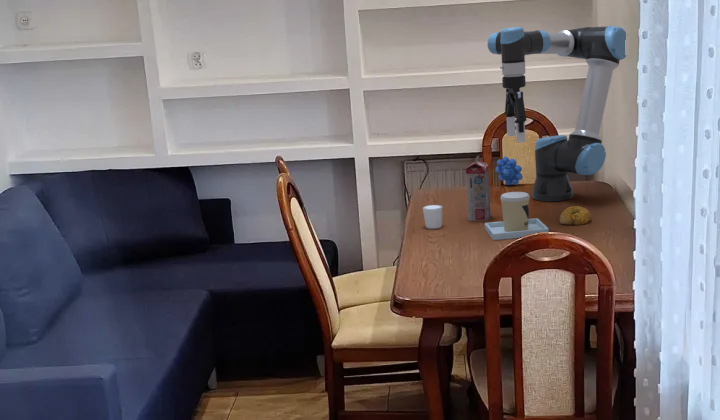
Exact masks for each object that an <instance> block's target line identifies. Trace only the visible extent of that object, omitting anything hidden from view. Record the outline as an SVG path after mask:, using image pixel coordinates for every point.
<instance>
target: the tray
mask: <svg viewBox="0 0 720 420" xmlns="http://www.w3.org/2000/svg"><path fill="white" fill-rule="evenodd" d="M484 230H485V231H486V233H487V234H488V235H489V236H490V238H491V239H492V240H493V241H500V240H502V241H503V240H510V239H511V240H512V239H520V237H523V236H525V235H528V234H533V233H538V232H549V233H550V229H549V227H547V225H546V224H544V223H543V222H542V221H541V220H540V219H539V218H529V221H528V230H523V231H513V232H505V230H504V223H503V221H493V222H484ZM523 238H524V237H523Z"/></svg>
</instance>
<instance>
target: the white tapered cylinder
mask: <svg viewBox="0 0 720 420" xmlns="http://www.w3.org/2000/svg"><path fill="white" fill-rule="evenodd" d="M422 212H423V218H424V219H423V220H424V224H425V228H427V229H430V230H431V229H434V230H435V229H440V228H441V227H442V226H443V205H440V204H430V205H429V204H428V205H425V206H423V207H422Z"/></svg>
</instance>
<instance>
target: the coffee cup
mask: <svg viewBox="0 0 720 420" xmlns="http://www.w3.org/2000/svg"><path fill="white" fill-rule="evenodd" d="M500 202H501V213H502V214H501V215H502V219H503V223H504V230H505V232H513V231H523V230H528V221H529V219H530V218H529V216H530V215H529V214H530V195H529V193H527V192H524V191H511V192H504V193H502V194H501V195H500Z"/></svg>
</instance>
